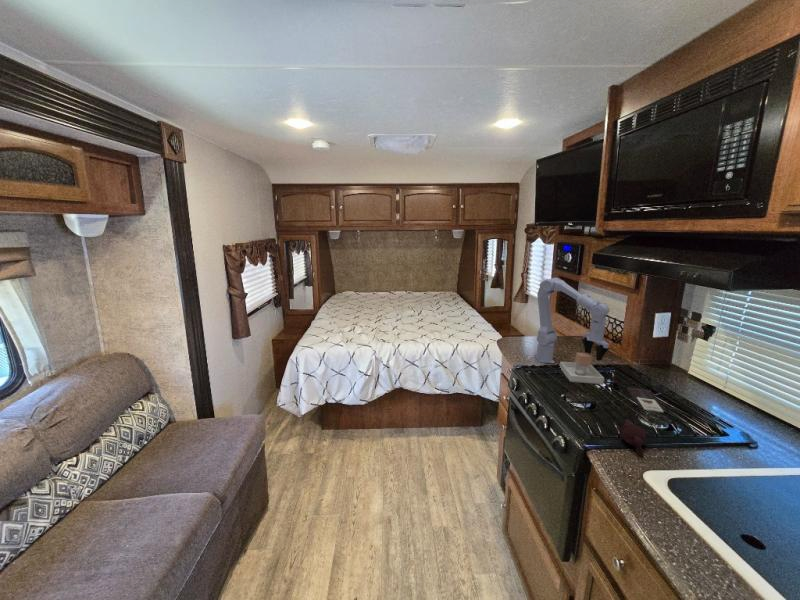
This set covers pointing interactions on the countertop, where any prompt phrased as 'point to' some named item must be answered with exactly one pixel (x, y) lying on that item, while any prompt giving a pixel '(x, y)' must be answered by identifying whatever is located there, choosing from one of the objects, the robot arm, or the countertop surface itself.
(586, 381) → the tray
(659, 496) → the countertop surface
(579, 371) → the tin
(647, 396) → the chocolate bar
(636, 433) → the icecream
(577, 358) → the carton
